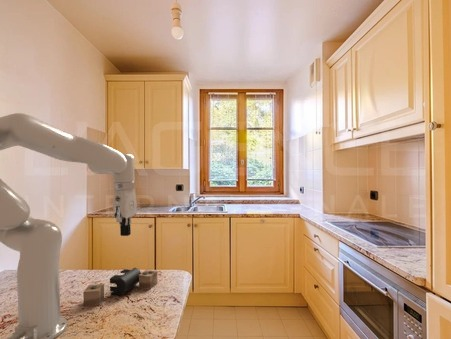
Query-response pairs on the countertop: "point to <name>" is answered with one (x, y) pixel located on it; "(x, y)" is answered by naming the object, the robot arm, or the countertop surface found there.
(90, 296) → the marked block
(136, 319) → the countertop surface
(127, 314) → the countertop surface
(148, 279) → the marked block
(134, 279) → the black arched block
